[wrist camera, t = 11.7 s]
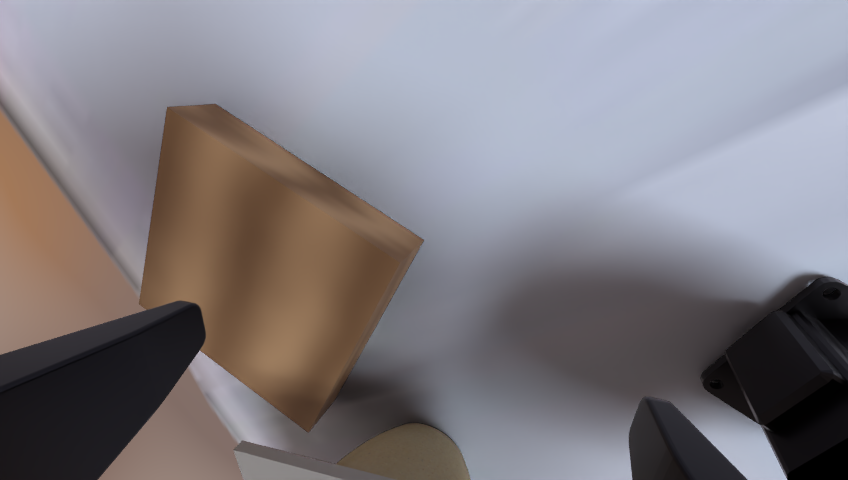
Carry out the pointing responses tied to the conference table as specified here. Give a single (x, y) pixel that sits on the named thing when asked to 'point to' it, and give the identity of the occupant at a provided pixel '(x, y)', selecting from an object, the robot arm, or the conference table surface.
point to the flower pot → (409, 455)
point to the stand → (269, 259)
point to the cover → (291, 466)
